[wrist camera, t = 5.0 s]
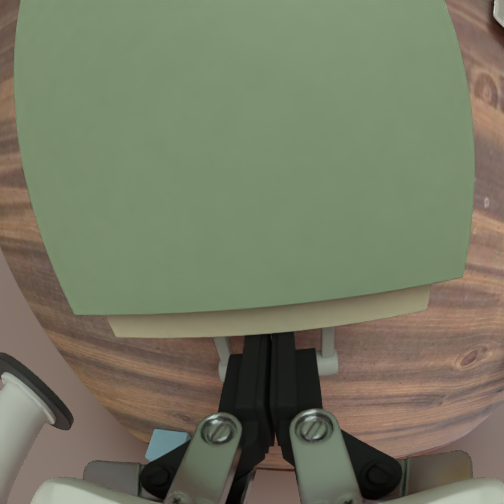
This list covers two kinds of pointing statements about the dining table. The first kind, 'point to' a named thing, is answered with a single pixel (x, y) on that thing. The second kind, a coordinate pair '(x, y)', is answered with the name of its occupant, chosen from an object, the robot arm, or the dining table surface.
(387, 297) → the drawer
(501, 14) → the dessert
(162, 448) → the soap block
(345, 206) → the small drawer box
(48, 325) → the dining table surface
